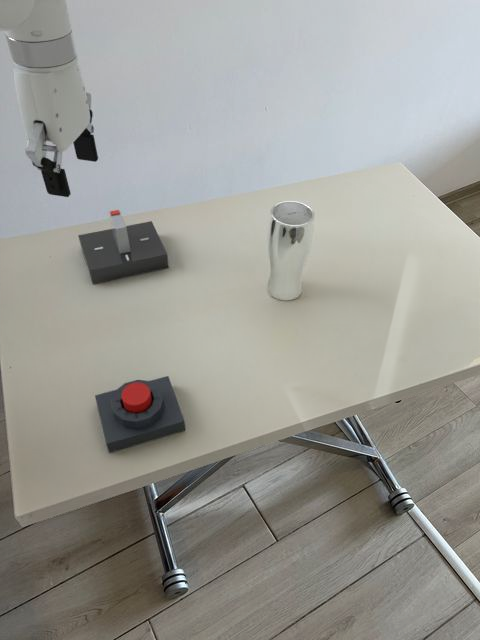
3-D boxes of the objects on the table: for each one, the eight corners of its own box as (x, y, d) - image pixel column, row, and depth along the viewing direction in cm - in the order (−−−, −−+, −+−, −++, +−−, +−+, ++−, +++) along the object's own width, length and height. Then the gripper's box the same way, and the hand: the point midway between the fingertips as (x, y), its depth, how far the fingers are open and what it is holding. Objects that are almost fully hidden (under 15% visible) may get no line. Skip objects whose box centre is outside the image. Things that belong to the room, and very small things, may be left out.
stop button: (126, 416, 67) (124, 408, 66) (120, 394, 69) (118, 386, 68) (154, 408, 68) (153, 400, 67) (148, 387, 70) (146, 379, 69)
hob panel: (92, 284, 88) (88, 269, 86) (81, 249, 94) (77, 234, 92) (168, 267, 92) (167, 253, 89) (153, 234, 98) (151, 220, 95)
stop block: (109, 453, 67) (103, 436, 64) (97, 404, 72) (92, 386, 69) (185, 430, 70) (183, 413, 67) (169, 385, 75) (167, 367, 72)
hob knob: (130, 251, 89) (126, 225, 85) (120, 253, 89) (115, 227, 85) (123, 234, 92) (119, 208, 88) (113, 236, 92) (108, 210, 88)
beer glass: (258, 296, 88) (262, 220, 77) (271, 271, 92) (277, 195, 81) (298, 307, 87) (309, 231, 76) (309, 281, 91) (321, 205, 80)
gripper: (46, 21, 70) (74, 144, 83) (-25, 71, 58) (20, 205, 71) (100, 27, 69) (120, 151, 82) (39, 80, 58) (73, 214, 71)
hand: (74, 176), depth 77 cm, fingers open, 9 cm apart
